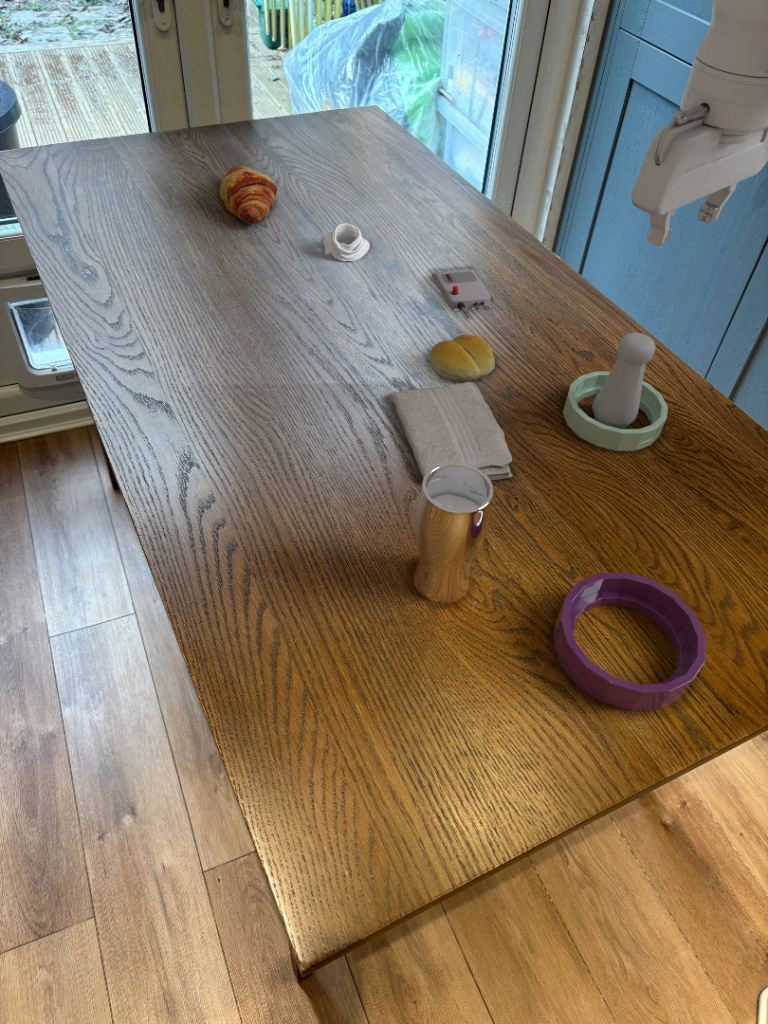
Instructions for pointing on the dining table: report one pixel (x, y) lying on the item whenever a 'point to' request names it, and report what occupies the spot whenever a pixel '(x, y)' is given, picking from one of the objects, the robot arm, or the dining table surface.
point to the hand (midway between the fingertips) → (682, 231)
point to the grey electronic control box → (462, 289)
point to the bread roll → (462, 358)
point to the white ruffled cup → (343, 236)
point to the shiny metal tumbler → (450, 528)
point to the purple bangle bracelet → (653, 605)
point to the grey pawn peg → (624, 382)
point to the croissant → (248, 193)
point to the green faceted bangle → (610, 435)
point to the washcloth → (453, 429)
